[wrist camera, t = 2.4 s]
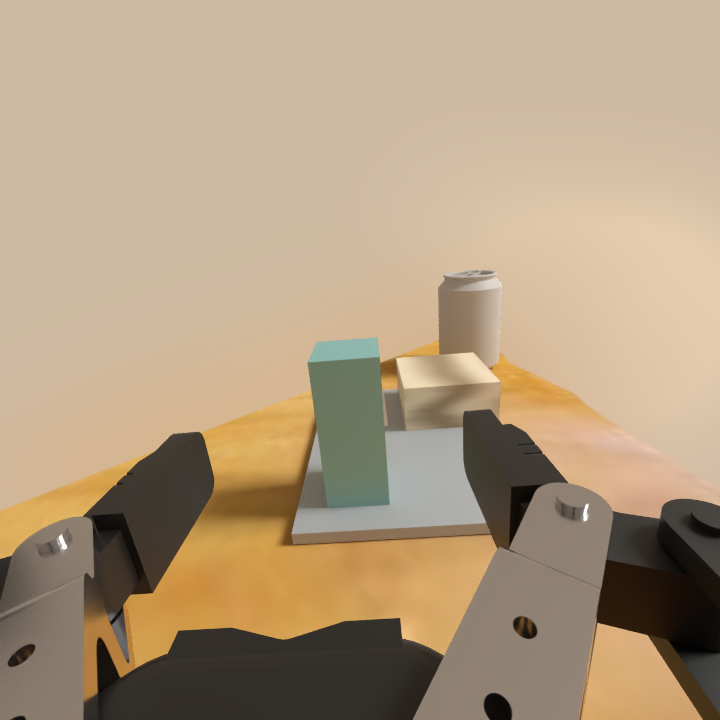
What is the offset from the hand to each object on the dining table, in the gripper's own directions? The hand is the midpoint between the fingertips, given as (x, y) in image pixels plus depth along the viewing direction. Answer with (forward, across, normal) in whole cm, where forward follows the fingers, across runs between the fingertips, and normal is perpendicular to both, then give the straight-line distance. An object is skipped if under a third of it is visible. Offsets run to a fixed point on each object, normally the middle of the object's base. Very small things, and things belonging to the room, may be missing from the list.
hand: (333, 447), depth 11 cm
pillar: (+12, 0, +10) cm, 15 cm away
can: (+36, -14, +11) cm, 40 cm away
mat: (+18, -4, +11) cm, 21 cm away
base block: (+22, -8, +10) cm, 26 cm away
